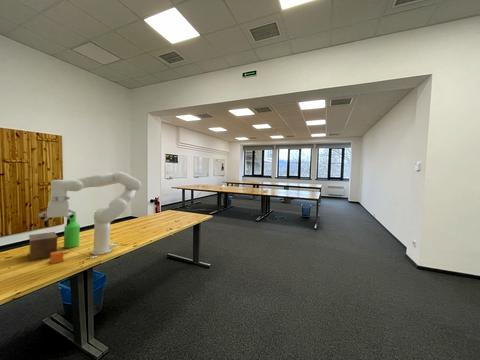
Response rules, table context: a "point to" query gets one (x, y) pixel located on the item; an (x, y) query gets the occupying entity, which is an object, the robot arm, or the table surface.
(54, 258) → the cube
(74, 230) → the bottle
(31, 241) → the shelf
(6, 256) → the table surface
